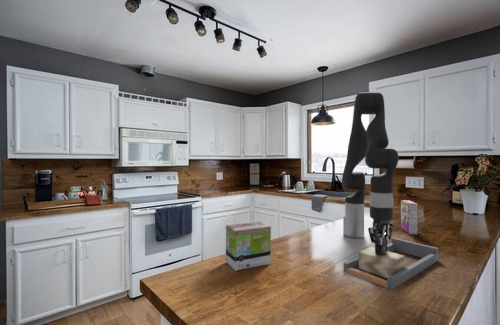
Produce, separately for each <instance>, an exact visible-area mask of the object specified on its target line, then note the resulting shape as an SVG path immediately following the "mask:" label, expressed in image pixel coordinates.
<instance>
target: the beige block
mask: <svg viewBox="0 0 500 325" xmlns="http://www.w3.org/2000/svg"><path fill="white" fill-rule="evenodd" d="M379 240H380V238H379ZM358 256H359V267H358V269H361V270H362V271H365V272H368V273H372V274H374V275H376V276H380V277H381V278H385V279H387V278H389V277H390V276H392V275H394V274H396V273H397V272H399V271H401V270H403V269H405V268H406V256H405V255H403V254H399V253H396V252H394V251H393V252H389V251H387V252H386V237H385V236H384V238H383V240H382V255H377V254H375V246H370V247H367V248H365V249H362V250H359V251H358Z"/></svg>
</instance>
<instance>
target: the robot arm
mask: <svg viewBox="0 0 500 325" xmlns="http://www.w3.org/2000/svg"><path fill="white" fill-rule="evenodd" d="M353 106H354V107H353V112H352V113H353V115H352V116H353V117H352V123H351V124H352V125H351V131H350V135H349V140H348V148H347V154H346V161H345V164H344V169H343V172H342V177H341V186H342V188H343V190H355V192H354V193H352V194H349V195H346V196H345V198H344V216H343V217H342V218H343V220H342V221H343V226H342V227H343V229H342V230H343V233H342V234H343V235H344V236H346V237H348V238H352V239H361V238H364V237H365V195H366V194H365V191H366V175H365V173H364V172H363V171H354V170H355V168H356V167H357V166H358V165H359V164H360V163H361V162H362V161H363V160H364V162H365V165H366V166H367V167H368V168H369V169H385V170H384V172H383V173H381V174H375V175H372V176H371V177H370V181H369V182H370V188H369V189H370V195H369V218H371V219H372V220H373V221H372V227H368V229H367V230H368V234H369V235H368V236H369V238H370V239H369V240H370V242H371V243H373V244H374V247H375V254H377V255H382V240H383V238H384V236H385V237H386V252H387V244H388V243H389V240H392V234H393V229H394V223H393V222H390V221H392V220H393V219H394V195H393V188H394V185H393V184H394V183H393V182H394V181H393V180H394V177H395V176H394V175H395V172H396V169H397V166H398V163H399V161H400V160H399V159H400V157H399V153H398V151H397V150H396V149H395V148H388V146H389V136H388V133H387V129H386V112H385V111H386V110H385V97H384V95H383V94H382V93H381V92H374V91H373V92H371V91H370V92H357V94H356V96H355V99H354V105H353ZM363 115H375V116H374V118H373V119H372V120H371V121H370V123H369V124H368V125H367V127H366V128H365V126H364V123H363V122H362V116H363ZM379 238H380V240H379Z"/></svg>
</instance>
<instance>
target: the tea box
mask: <svg viewBox="0 0 500 325" xmlns="http://www.w3.org/2000/svg"><path fill="white" fill-rule="evenodd" d="M271 236H272V227H271V226H270V225H268V224H265V223H263V222H261V221H254V222H253V221H252V222H245V223H234V224H227V225H225V263H226V264H227V265H229V266H230V267H231V268H232V269H233V270H234V271H235V272H236V271H240V270H245V269H250V268H255V267H256V268H257V267H259V266H260V267H261V266H267V265H270V264H271V255H272V254H271V252H272V251H271V249H272V246H271V245H272V244H271V242H272V239H271V238H272V237H271Z"/></svg>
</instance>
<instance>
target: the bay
mask: <svg viewBox="0 0 500 325" xmlns="http://www.w3.org/2000/svg"><path fill="white" fill-rule="evenodd" d="M387 251H389V252H393V253H394V252H400V253H403V254H406V255H412V256H415V257H418V258H420V259H419V260H417V261H415V262H413V263H412V264H410V265H408V266H407V267H406V266H405V269H403V270H401V271H399V272H397V273H396V274H394V275H392V276H390V277H389V278H386V279H387V280H386V279H383V278H382V277H377V275H376V276H375V275H372V274H370V273H367V272H366V271H365V272H364V271H363V270H362V271H361V270H359V255H358V256H355V257H354V258H351V259H348V260H346V261H344V262H343V263H342V264H343V265H342V266H343V267H342V268H343V272H345V273H347V274H351V275H353V276H356V277H359V278H360V279H363V280H367V281H369V282H372V283H373V284H377V285H379V286H381V287H385V288H386V289H389V290H394V289H396V288H397V287H399V286H400V285H402V284H403V283H405V282H407V281H408V280H410V279H411V278H413V277H414V276H417V275H418V274H420V273H421V272H422V271H424V270H426V269H427V268H429V267H431V266H432V265H433V264H435V263H437V262H439V247H436V246H433V245H432V246H431V245H427V244H422V243H419V242H414V241H409V240H405V239H401V238H396V237H391V242H390V243H387ZM357 268H358V269H357Z"/></svg>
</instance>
